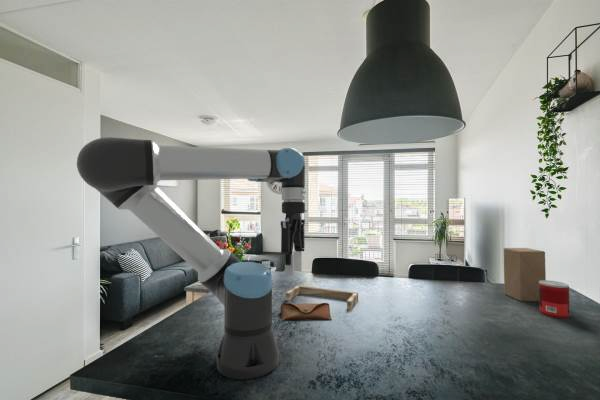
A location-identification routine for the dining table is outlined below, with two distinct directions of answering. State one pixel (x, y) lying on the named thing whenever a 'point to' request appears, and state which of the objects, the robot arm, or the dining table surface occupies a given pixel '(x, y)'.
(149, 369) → the dining table surface
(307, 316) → the sunglasses case
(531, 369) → the dining table surface
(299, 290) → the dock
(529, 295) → the wooden block
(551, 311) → the canned food
